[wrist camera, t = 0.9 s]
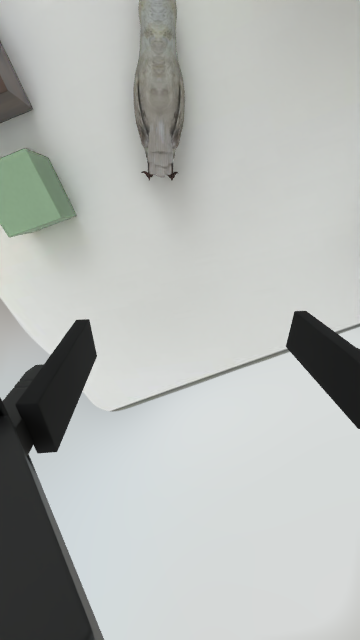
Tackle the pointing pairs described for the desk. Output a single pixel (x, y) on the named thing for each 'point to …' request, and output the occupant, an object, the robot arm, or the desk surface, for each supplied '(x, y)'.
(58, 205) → the green block
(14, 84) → the walnut block
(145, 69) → the decorative bird
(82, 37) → the desk surface
